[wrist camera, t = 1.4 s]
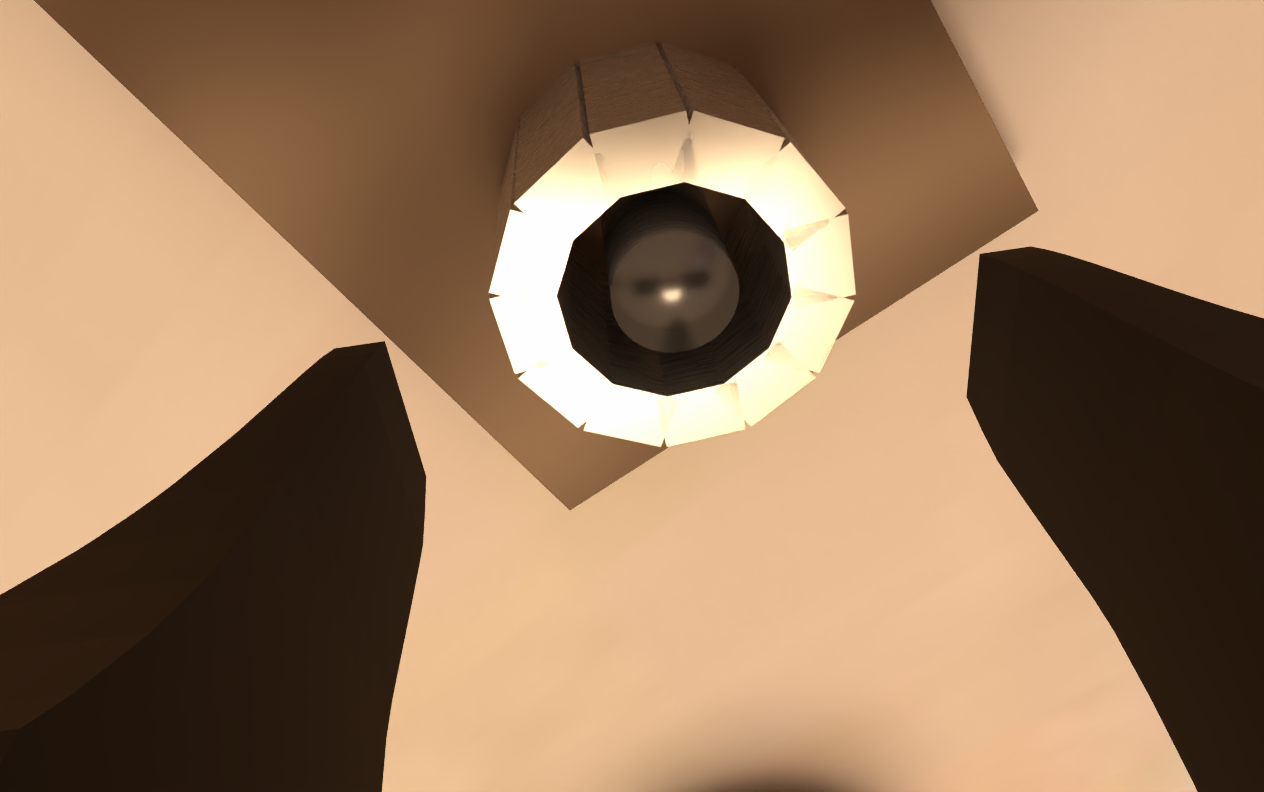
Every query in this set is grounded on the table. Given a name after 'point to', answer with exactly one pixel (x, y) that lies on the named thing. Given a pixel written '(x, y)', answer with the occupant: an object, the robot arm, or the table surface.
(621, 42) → the walnut board
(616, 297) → the stand rod
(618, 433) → the steel collar
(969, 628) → the table surface
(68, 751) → the robot arm
